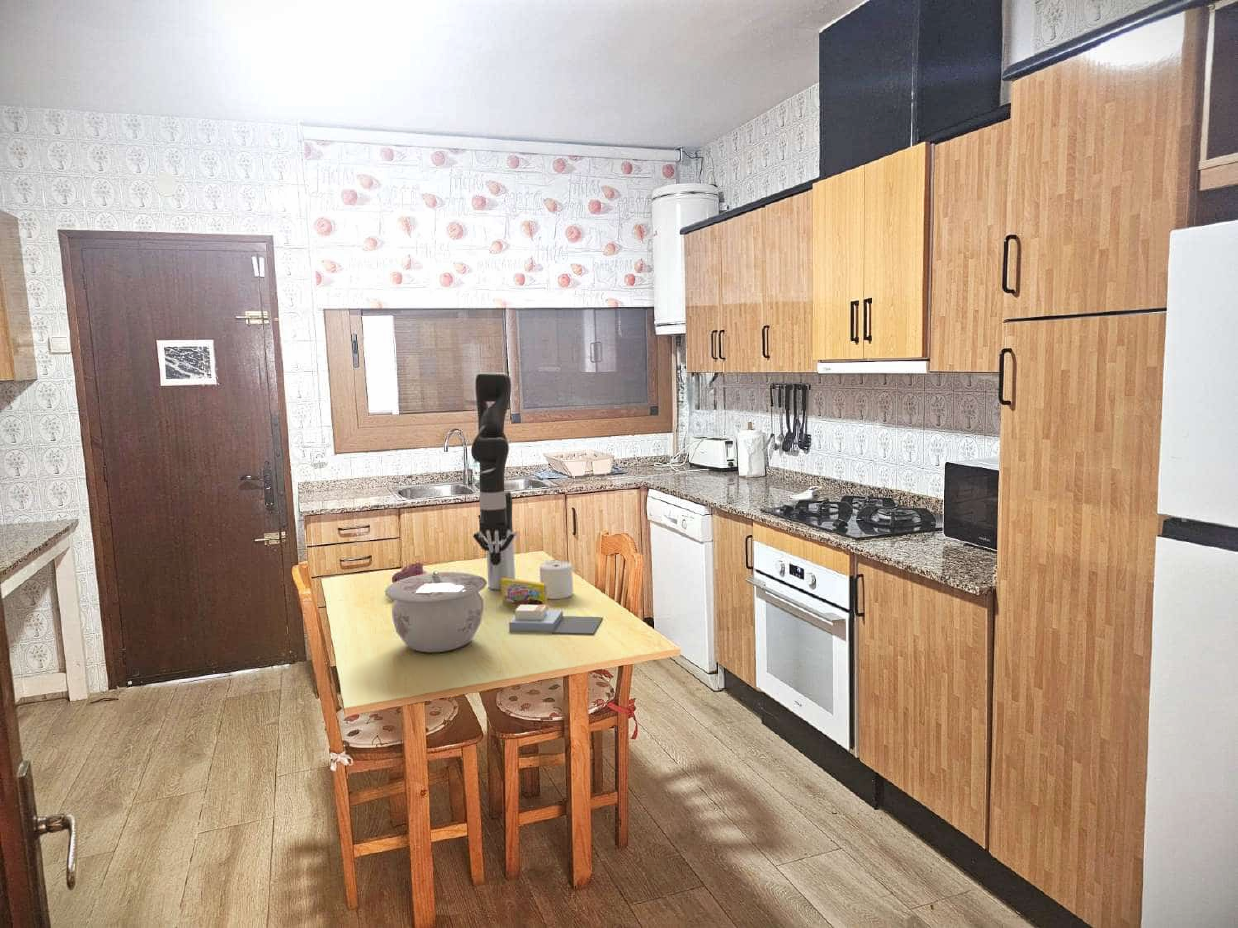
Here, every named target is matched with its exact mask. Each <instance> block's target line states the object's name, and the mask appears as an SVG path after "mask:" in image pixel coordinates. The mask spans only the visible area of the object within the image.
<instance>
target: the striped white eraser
mask: <svg viewBox="0 0 1238 928" xmlns="http://www.w3.org/2000/svg"><path fill="white" fill-rule="evenodd" d="M547 610H548V604H547V605H520V606H517V608H516V609H515V610H514V611H515V612H514V613H515V615H514V616H515V617H516V619H543V618H544V617H545V615H546V614H547Z"/></svg>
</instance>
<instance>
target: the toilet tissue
mask: <svg viewBox="0 0 1238 928" xmlns="http://www.w3.org/2000/svg"><path fill="white" fill-rule="evenodd" d="M539 581H540V582H539V583H546V592H547V600H550V599H551V600H560V599H561V600H562V599H567V598H570V597H572V596H573V595H574V588H573V587H574V584H573V583H574V582H573V564H572V562H569V561H563V560H562V561H560V560H557V561H556V558H555V559H550V560H547V561H545V562H543V563H542V564H540V565H539ZM569 596H570V597H569Z"/></svg>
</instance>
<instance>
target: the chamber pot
mask: <svg viewBox="0 0 1238 928" xmlns="http://www.w3.org/2000/svg"><path fill="white" fill-rule="evenodd" d="M487 586H488V580H486V578H485V577H483V576H481V575H478V574H474V573H469V572H468V573H467V572H460V571H443V572H442V571H437V570H433V572H429V573H427V574H422V575H417V576H412V577H409V578H406V579H402V580H399V581H397V582H395V583H393V582H392V583H391V584H389V585H388V586H387V587H386V588H385V590H384V594H385V596H386V597H388V598H390V599H392V600H394V601H393V603H392V605H391V616H392V621H393V624H394V627H395V632H396V633H397V635H398V636H399V638H400V639H401V641H402V642H403V643H404V644H405V645H406V646H408V648H410V649H411V650H413V651H417V652H421V653H429V654H430V653H431V654H433V653H435V654H437V653H438V654H439V653H446V652H451V651H454V650H456V649H459V648H461V647H464V646H465V645H467V644H469V643H470V642H471V641H472V640H473V638H474V637H475V635H476V633H477V631H478V629H479V628H480V625H481V623H482V620H483V613H484V599H483V597H482V596H481V594H480V593H479V592H481V591H483V590H484V589H485V588H486V587H487Z"/></svg>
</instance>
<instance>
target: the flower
mask: <svg viewBox="0 0 1238 928" xmlns="http://www.w3.org/2000/svg"><path fill="white" fill-rule="evenodd" d="M423 568H424V562H417V563H412V564H409V565H408V566H404V567H403V568H402V569H400V571H397V572H396V573H394V574H393V575H392V577H391V581H392V584H393V583H395V582H397V581H399V580H402V579H406V578H409V577H412V576H417V575H422V574H428V573H427V571H425V570H423Z"/></svg>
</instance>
